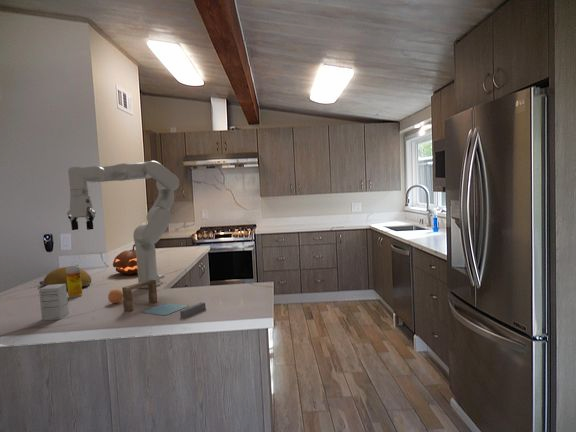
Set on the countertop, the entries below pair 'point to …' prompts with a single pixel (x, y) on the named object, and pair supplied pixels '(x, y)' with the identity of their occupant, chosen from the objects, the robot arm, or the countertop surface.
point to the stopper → (192, 310)
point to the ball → (115, 296)
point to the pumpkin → (126, 262)
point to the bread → (65, 277)
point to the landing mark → (165, 309)
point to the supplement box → (53, 301)
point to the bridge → (128, 290)
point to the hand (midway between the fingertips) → (82, 229)
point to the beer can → (74, 281)
